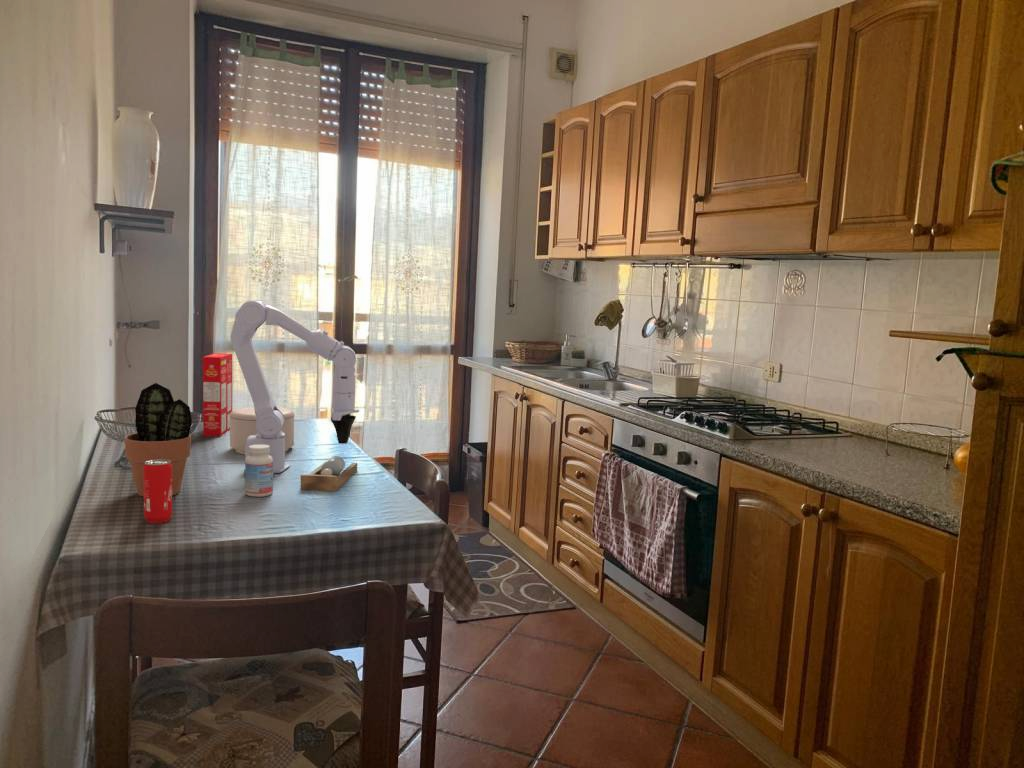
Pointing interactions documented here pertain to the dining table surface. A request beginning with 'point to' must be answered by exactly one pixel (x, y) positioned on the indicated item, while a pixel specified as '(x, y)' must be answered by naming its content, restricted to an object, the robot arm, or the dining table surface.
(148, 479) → the beverage can
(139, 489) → the potted plant
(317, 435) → the dining table surface
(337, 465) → the bottle
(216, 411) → the food packaging
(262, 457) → the pill bottle
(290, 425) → the container
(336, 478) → the cradle
